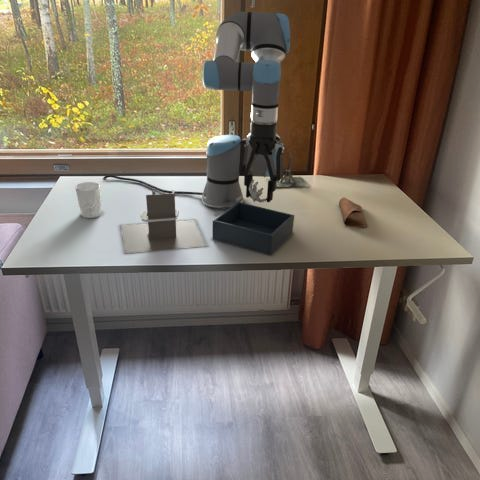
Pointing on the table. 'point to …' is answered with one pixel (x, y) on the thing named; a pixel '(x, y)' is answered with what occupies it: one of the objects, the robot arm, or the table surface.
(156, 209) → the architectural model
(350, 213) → the sunglasses case
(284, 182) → the eiffel tower figurine
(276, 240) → the tote
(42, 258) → the table surface
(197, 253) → the table surface
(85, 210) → the white cup
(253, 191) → the soldier figure
